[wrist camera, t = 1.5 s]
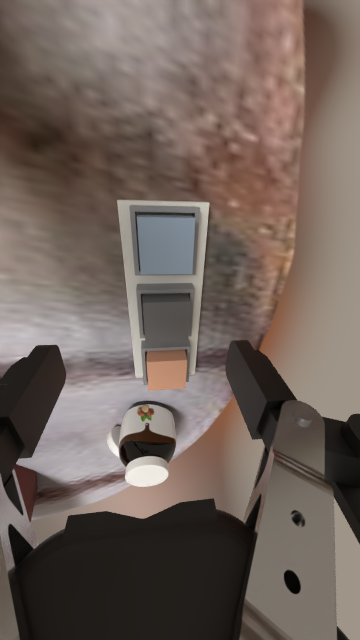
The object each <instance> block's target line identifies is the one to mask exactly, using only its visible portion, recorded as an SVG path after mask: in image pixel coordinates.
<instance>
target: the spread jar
mask: <svg viewBox="0 0 360 640" xmlns="http://www.w3.org/2000/svg"><path fill="white" fill-rule="evenodd" d="M107 443H108V446H109V448H110V449H111V451H112V452H113V453H114V454H115V455H116V456H117V457H119V458H120V459H121V462H122V463H123V464H124V466H125V467H126V475H125V479H126V481H127V482H128V483H129V484H131V485H134V486H139V487H147V486H153V485H156V484H159V483H161V482H163V481H164V480H166V478H167V477H168V463H169V461H170V460H171V458H172V456H173V454H174V451H175V447H176V430H175V422H174V417H173V415H172V413H171V412H170V410H169V409H167V408H166V407H165V406H163V405H162V404H160V403H157V402H152V401H147V402H141V403H138V404H136V405H134V406H132V407H131V408H130V409H129V410H128V411H127V412H126V414H125V415H124V418H123V420H122V424H121V426H116V427H114V428H113V429H112V430H111V431H110V432H109V434H108V436H107Z"/></svg>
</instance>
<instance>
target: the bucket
mask: <svg viewBox="0 0 360 640" xmlns="http://www.w3.org/2000/svg"><path fill="white" fill-rule="evenodd" d="M14 470H15V473H16V476H17V480H18V483H19V487H20V490H21V494H22V498H23V501H24V505H25V508H26V512H27V515H28V518H29V521H30V522H31V517H32V513H33V508H34V503H35V498H36V493H37V488H38V485H37V477H36V471H33V470H30V469H28V468H25V467H22V466H19V465H16V464H15V466H14Z"/></svg>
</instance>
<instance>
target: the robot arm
mask: <svg viewBox="0 0 360 640" xmlns="http://www.w3.org/2000/svg"><path fill="white" fill-rule="evenodd" d="M226 375H227V378H228V381H229V383H230V386H231V388H232V391H233V393H234V395H235V398H236V400H237V403H238V405H239V408H240V410H241V413H242V415H243V417H244V420H245V423H246V425H247V427H248V430H249V432H250V435H251V437H252V439H262V440H263V442H264V445H265V446H264V448H263V452H262V456H261V460H260V463H259V467H258V471H257V475H256V479H255V483H254V487H253V491H252V494H251V497H250V500H249V503H248V506H247V509H246V512H245V516H244V519H243V522H242V521H241V520H239V519H238V518H236V517H234V516H233V515H231V514H229V513H226V512H224V511H221V510H217V509H216V507H215V502H214V499H205V500H197V501H188V502H181V503H178V504H176V505H174V506H172V507H169V508H167V509H165V510H163V511H161V512H159V513H157V514H154V515H152V516H150V517H148V518H145V519H139V518H135V517H130V516H126V515H121V514H117V513H112V512H107V511H104V512H96V513H87V514H80V515H70V516H68V519H67V523H66V527H65V529H63V530H61V531H59V532H57V533H56V534H54V535H52V536H50V537H49V538H48V539H46V540H45V541H44V542H42V543H41V544H39V543H38V540H37V537H36V535H35V532H34V530H33V528H32V526H31V524H30V521H29V518H28V515H27V512H26V508H25V505H24V501H23V498H22V494H21V490H20V487H19V483H18V480H17V476H16V473H15V470H14V466H15V464H16V462H17V460H18V459H19V458H31V457H32V455H33V453H34V451H35V448H36V446H37V444H38V442H39V440H40V437H41V435H42V433H43V431H44V428H45V426H46V424H47V422H48V419H49V417H50V415H51V413H52V411H53V408H54V406H55V404H56V402H57V399H58V397H59V395H60V393H61V390H62V388H63V386H64V384H65V380H66V371H65V367H64V364H63V360H62V357H61V353H60V350H59V347H58V346H57V345H37V346H36V347H35V348H34V349H33V350H32V352H31V353H30V355H29V356H28V357H23V358H22V359H20V360H19V361H17V362H16V363H15V364H13V365H12V366H11V367H10V368H9V369H8V371H7V372H6V373H5V374H4V376H3V378H1V379H0V640H349V639H348V638H347V637H346V636H345V634H344V633H343V632H342V631H341V630H340V629H339V628H338V626H337V621H336V578H335V577H336V576H335V535H334V498H335V500H336V501H337V503H338V505H339V507H340V509H341V511H342V512H343V514H344V516H345V518H346V520H347V522H348V523H349V525H350V527H351V529H352V531H353V532H354V534H355V536H356V538H357V540H358V542H359V543H360V414H353V415H351V416H350V417H349V419H348V420H347V421H346V422H343V421H339V420H334V419H330V418H325V417H322V416H321V415H320V414H319V413H318V412H317V411H316V410H315V409H314V408H313V407H311V406H310V405H308V404H306V403H304V402H301V401H298V400H297V399H296V398H295V396H294V395H293V393H292V392H291V390H290V389H289V388H288V386H287V385H286V383H285V382H284V380H283V379H282V377H281V376H280V375H279V374H278V372H277V370H276V369H275V367H273V365H272V363H271V362H270V360H269V359H268V357H267V356H265V355H264V354H263V353H261V352H260V351H259V350H254V349H253V347H252V346H251V344H250V343H249V341H247V340H239V341H231V343H230V347H229V352H228V356H227V361H226Z"/></svg>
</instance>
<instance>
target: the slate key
mask: <svg viewBox="0 0 360 640" xmlns="http://www.w3.org/2000/svg"><path fill="white" fill-rule="evenodd" d="M137 226H138V241H139V256H140V271H141V275H143V274H192V269H193V252H194V235H195V217H193V216H185V215H138V216H137Z"/></svg>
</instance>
